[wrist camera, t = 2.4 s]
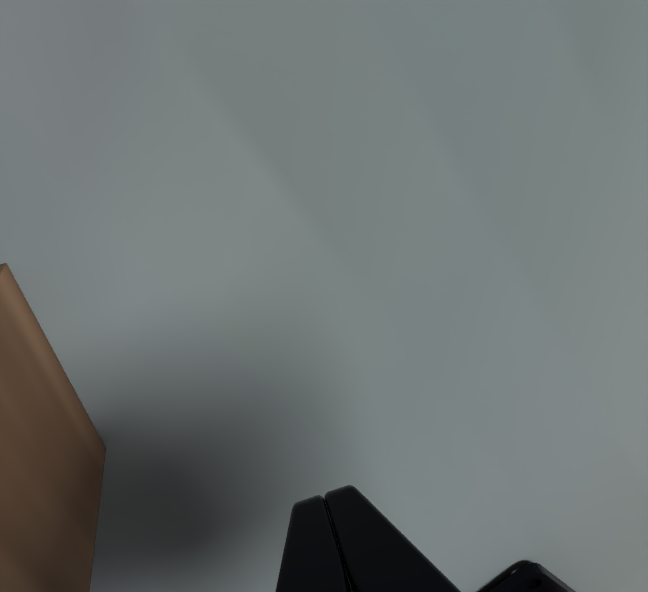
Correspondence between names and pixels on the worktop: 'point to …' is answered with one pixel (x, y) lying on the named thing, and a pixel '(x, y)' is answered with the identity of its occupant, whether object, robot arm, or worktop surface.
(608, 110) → the worktop surface
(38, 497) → the brown rectangular block
